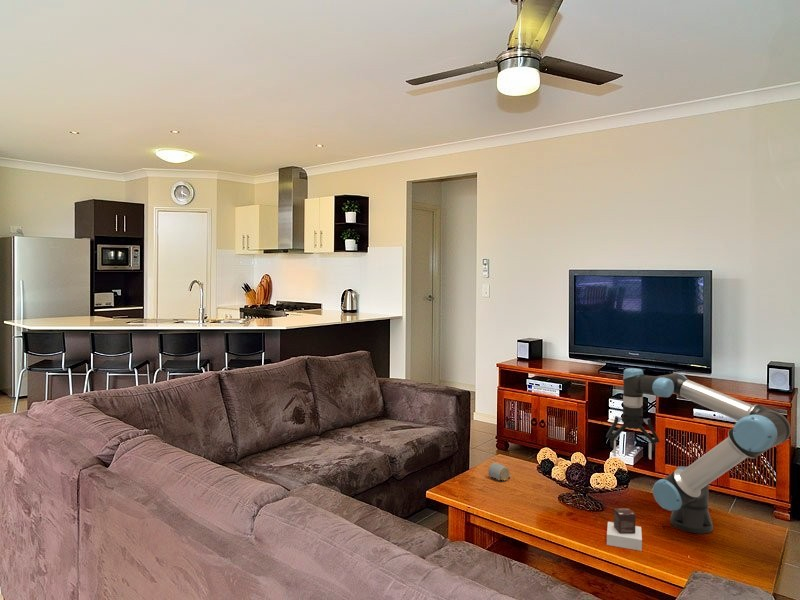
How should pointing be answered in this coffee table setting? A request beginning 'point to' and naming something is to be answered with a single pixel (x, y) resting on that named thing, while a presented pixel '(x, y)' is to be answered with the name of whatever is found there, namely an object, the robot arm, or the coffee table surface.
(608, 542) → the base block
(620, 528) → the box
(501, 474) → the ceramic mug
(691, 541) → the coffee table surface
